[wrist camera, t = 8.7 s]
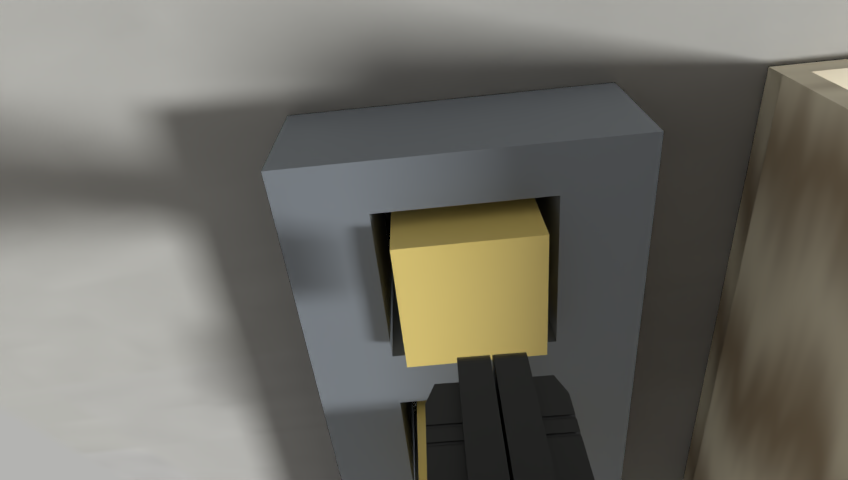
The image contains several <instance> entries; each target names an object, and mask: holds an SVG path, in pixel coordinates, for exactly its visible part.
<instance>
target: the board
mask: <svg viewBox="0 0 848 480" xmlns="http://www.w3.org/2000/svg"><path fill="white" fill-rule="evenodd" d="M663 135H664V131H663V130H662V129H661V128H660V127H659V126H658V125H657V124H656V123H655V122H654V121H653V120H652V119H651V118H650V117H649V116H648V115H647V114H646V113H645V112H644V111H643V110H642V109H641V108H640V107H639V106H638V105H637V104H636V103H635V102H634V101H633V100H632V99H631V98H630V97H629V96H628V95H627V94H626V93H625V92H624V91H623V90H622V89H621V88H620V87H619V86H618V85H617V84H616V83H605V84H595V85H585V86H575V87H565V88H556V89H546V90H536V91H526V92H516V93H506V94H497V95H487V96H477V97H467V98H457V99H447V100H438V101H428V102H418V103H408V104H398V105H388V106H379V107H369V108H359V109H349V110H339V111H329V112H320V113H310V114H300V115H290V116H287V118H286V120H285V122H284V124H283V126H282V128H281V131H280V133H279V135H278V137H277V139H276V141H275V143H274V145H273V147H272V150H271V152H270V154H269V156H268V158H267V160H266V162H265V164H264V166H263V169H262V171H261V173H262V177H263V181H264V184H265V188H266V192H267V196H268V200H269V204H270V207H271V211H272V215H273V219H274V223H275V227H276V230H277V234H278V238H279V242H280V246H281V250H282V253H283V257H284V261H285V265H286V269H287V273H288V276H289V280H290V284H291V288H292V292H293V296H294V299H295V303H296V307H297V311H298V315H299V319H300V322H301V326H302V330H303V334H304V338H305V342H306V345H307V349H308V353H309V357H310V361H311V365H312V368H313V372H314V376H315V380H316V384H317V388H318V391H319V395H320V399H321V403H322V407H323V411H324V414H325V418H326V422H327V426H328V430H329V434H330V438H331V441H332V445H333V449H334V453H335V457H336V461H337V464H338V468H339V472H340V476H341V480H419V474H418V434H417V414H416V415H414V411H413V404H412V402H413V401H424V400H427V399H428V397H429V395H430V392H431V390H432V388H433V386H434V384H442V383H456V382H459V380H458V367H457V363H451V364H440V365H429V366H417V367H407V363H406V356H405V350H404V343H403V336H402V330H401V323H400V316H399V309H398V303H397V296H396V289H395V282H394V276H393V269H392V262H391V256H390V249H389V242H388V235H387V229H386V222H385V215H384V213H385V212H395V211H405V210H416V209H426V208H436V207H446V206H457V205H467V204H477V203H488V202H498V201H508V200H518V199H529V198H535V200H536V203H537V205H538V208H539V210H540V213H541V215H542V218H543V220H544V223H545V225H546V228H547V230H548V233H549V283H548V340H547V355H539V356H528V360H529V364H530V368H531V373H532V377H533V376H547V375H554V376H555V377H556V378H557V379H558V381H559V382H560V383H561V384H562V385H563V386H564V388H565V389H566V390H567V391H568V392H569V394H570V398H571V401H572V405H573V408H574V411H575V417H576V418H577V421H578V425H579V428H580V433H581V436H582V438H583V442H584V445H585V449H586V452H587V455H588V459H589V462H590V466H591V469H592V472H593V476H594V479H595V480H621V479H622V470H623V462H624V454H625V446H626V438H627V430H628V421H629V413H630V405H631V397H632V389H633V380H634V372H635V364H636V356H637V348H638V339H639V331H640V323H641V315H642V307H643V299H644V290H645V282H646V274H647V266H648V258H649V249H650V241H651V233H652V225H653V217H654V209H655V200H656V192H657V184H658V176H659V168H660V159H661V151H662V143H663ZM491 363H492V360H491Z"/></svg>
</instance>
